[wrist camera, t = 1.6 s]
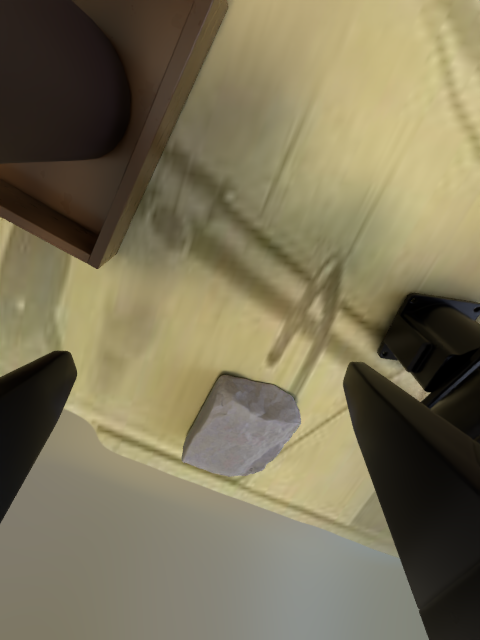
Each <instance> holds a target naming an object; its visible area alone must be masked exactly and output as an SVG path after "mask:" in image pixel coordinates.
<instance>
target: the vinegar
mask: <svg viewBox="0 0 480 640" xmlns="http://www.w3.org/2000/svg"><path fill="white" fill-rule="evenodd" d="M129 117H130V92H129V88H128V84H127V80H126V75H125V71H124V68H123V65H122V63H121V61H120V59H119V57H118V55H117V53H116V51H115V49H114V47H113V45H112V43H111V41H110V40H109V39H108V38H107V37H106V35H105V34H104V33H103V32H102V31H101V29H100V28H99V27H98V26H97V25H96V23H95V22H94V21H93V20H92V19H91V18H90V17H89V16H88V15H87V14H86V13H85V12H84V11H82V10H81V9H80V8H79V7H78V6H77V5H76V4H75V3H74V2H73V1H72V0H0V164H4V163H28V162H53V161H77V160H88V159H96V158H100V157H102V156H103V155H105V154H107V153H109V152H110V151H112V150H113V149H114V148H115V147H116V145H117V144H118V143H119V141H120V140H121V139H122V137H123V136H124V134H125V131H126V127H127V124H128V120H129Z"/></svg>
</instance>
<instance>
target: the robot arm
mask: <svg viewBox="0 0 480 640" xmlns="http://www.w3.org/2000/svg"><path fill="white" fill-rule="evenodd" d="M413 298H415V299H414V300H413V301H411V300H412V299H413ZM479 314H480V303H478V302H472V301H466V300H459V299H452V298H446V297H439V296H432V295H426V294H419V293H411V294H409V295H407V297H406V298H405V300H404V302H403V304H402V306H401V308H400V310H399V312H398V314H397V315H396V317H395V319H394V321H393V323H392V325H391V326H390V328H389V330H388V332H387V334H386V336H385V338H384V340H383V342H382V344H381V346H380V348H379V350H378V352H377V353H378V355H379V356H380V357H381V358H384V359H392V360H399V362H400V363H401V364H402V366H403V367H404V368H405V369H406V371H407V372H410V373H411V374H412V375H413V376H414V378H415V379H416V380H417V381H418V383H419V384H420V385H421V386H422V388H423V389H424V390H425V391H426V392H431V393H430V394H429V395H428V396H427V397H426V398H425V399H424V400H422V401H421V402H419V401H418V400H417V399H415V398H414V397H412V396H411V395H409V394H408V393H407V392H405V391H404V390H402V389H401V388H399V387H398V386H397V385H395V384H394V383H392V382H391V381H390V380H388V379H387V378H385V377H384V376H382V375H381V374H380V373H378V372H377V371H375V370H374V369H372V368H371V367H370V366H368V365H367V364H365V363H363V362H350V363H349V365H348V368H347V371H346V374H345V377H344V380H343V388H344V392H345V396H346V400H347V404H348V409H349V413H350V417H351V421H352V425H353V429H354V432H355V435H356V438H357V441H358V444H359V446H360V449H361V452H362V455H363V457H364V460H365V463H366V466H367V468H368V471H369V474H370V477H371V480H372V482H373V485H374V488H375V491H376V493H377V496H378V499H379V502H380V504H381V507H382V510H383V513H384V516H385V518H386V521H387V524H388V527H389V529H390V532H391V535H392V538H393V540H394V543H395V546H396V549H397V551H398V554H399V557H400V560H401V562H402V565H403V568H404V571H405V574H406V576H407V579H408V582H409V585H410V587H411V590H412V593H413V595H414V598H415V601H416V604H417V607H418V608H419V609H420V610H419V613H420V616H421V618H422V621H423V624H424V627H425V630H426V632H427V635H428V638H429V640H480V324H479V323H478V322H476V321H475V320H476V319H477V317H478V316H479ZM384 352H385V353H384ZM76 377H77V369H76V366H75V363H74V360H73V358H72V355H71V353H70V352H68V351H53V352H51V353H49V354H47V355H45V356H43V357H41V358H39V359H37V360H35V361H33V362H31V363H28V364H26V365H24V366H22V367H20V368H18V369H16V370H14V371H12V372H10V373H8V374H6V375H4V376H2V377H0V523H1V521H2V520H3V518H4V516H5V514H6V512H7V511H8V509H9V507H10V505H11V504H12V502H13V500H14V498H15V496H16V495H17V493H18V491H19V489H20V488H21V486H22V484H23V482H24V480H25V479H26V477H27V475H28V473H29V472H30V470H31V468H32V466H33V464H34V463H35V461H36V459H37V457H38V455H39V454H40V452H41V450H42V448H43V447H44V445H45V443H46V441H47V439H48V438H49V436H50V434H51V432H52V431H53V429H54V427H55V425H56V423H57V421H58V419H59V417H60V415H61V413H62V410H63V408H64V406H65V403H66V401H67V399H68V396H69V394H70V392H71V389H72V387H73V385H74V382H75V380H76Z"/></svg>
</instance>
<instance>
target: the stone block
mask: <svg viewBox="0 0 480 640" xmlns="http://www.w3.org/2000/svg"><path fill="white" fill-rule="evenodd" d="M300 424H301V418H300V412H299V409H298V407H297V404H296V402H295V401H294V399H293V396H291V395H290V394H288V393H286V392H284V391H283V390H281V389H279V388H278V387H276V386H275V385H272V384H265V383H260V382H255V381H251V380H248V379H244V378H238V377H232V376H230V375H222V376H220V378H219V379H218V380H217V381H216V383H215V385H214V387H213V389H212V391H211V392H210V394H209V396H208V398H207V400H206V402H205V403H204V405H203V407H202V409H201V411H200V413H199V414H198V416H197V418H196V420H195V422H194V424H193V426H192V428H191V429H190V431H189V433H188V435H187V436H186V439H185V442H184V446H183V453H182V461H183V462H184V463H185V462H186V463H189V464H190V465H193V466H196V467H198V468H200V469H205V470H207V471H209V472H212V473H217V474H220V475H225V476H238V475H242V476H246V475H249V474H254V473H256V472H259V471H262V470H263V469H264V468H265V466H266V464H268V463H269V462H271V461H272V460H273V459H274V458H275V457H276V456H277V455H278V454H279V453H280V451H281V449H282V448H283V446H284V444H285V443H286V442H287V441H289V439H290V438H291V437H292V435H293V433H295V431H296V430H297V429H298V427H299V425H300Z"/></svg>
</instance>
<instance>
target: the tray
mask: <svg viewBox="0 0 480 640" xmlns="http://www.w3.org/2000/svg"><path fill="white" fill-rule="evenodd" d="M72 1H73V2H74V3H75V4H76V5H77V6H78V7H79V8H80V9H81V10H82V11H84V12H85V13H86V14H87V15H88V16H89V17H90V18H91V19H92V20H93V21H94V22H95V23H96V25H97V26H98V27H99V28H100V29H101V31H102V32H103V33H104V34H105V35H106V37H107V38H108V39H109V40H110V41H111V43H112V45H113V47H114V49H115V51H116V53H117V55H118V57H119V59H120V61H121V63H122V65H123V68H124V71H125V75H126V80H127V84H128V88H129V92H130V117H129V120H128V124H127V127H126V131H125V134H124V136H123V137H122V139H121V140H120V141H119V143H118V144H117V145H116V147H115V148H114V149H113V150H112V151H110V152H109V153H107V154H105V155H103V156H102V157H100V158H96V159H88V160H77V161H53V162H28V163H4V164H0V217H2V218H4V219H6V220H8V221H9V222H11V223H13V224H15V225H17V226H19V227H20V228H22V229H24V230H26V231H28V232H30V233H32V234H33V235H35V236H37V237H39V238H41V239H43V240H45V241H46V242H48V243H50V244H52V245H54V246H56V247H57V248H59V249H61V250H63V251H65V252H67V253H69V254H70V255H72V256H74V257H76V258H78V259H80V260H82V261H83V262H85V263H88V264H89V265H91V266H92V267H94V268H96V269H99V268H100V267H101V266H102V265H103V264H105V263H106V262H107V261H108V260H109V259H111V258H112V257H113V256H114V255H116V254H117V252H118V249H119V247H120V245H121V243H122V241H123V238H124V236H125V234H126V232H127V230H128V227H129V225H130V223H131V221H132V219H133V216H134V214H135V212H136V210H137V207H138V205H139V203H140V201H141V199H142V196H143V194H144V192H145V190H146V188H147V185H148V183H149V181H150V179H151V177H152V174H153V172H154V170H155V168H156V166H157V163H158V161H159V159H160V157H161V155H162V152H163V150H164V148H165V146H166V144H167V141H168V139H169V137H170V135H171V133H172V130H173V128H174V126H175V124H176V122H177V119H178V117H179V115H180V113H181V111H182V108H183V106H184V104H185V102H186V100H187V97H188V95H189V93H190V91H191V89H192V86H193V84H194V82H195V80H196V77H197V75H198V73H199V71H200V69H201V66H202V64H203V62H204V60H205V58H206V55H207V53H208V51H209V49H210V47H211V44H212V42H213V40H214V38H215V36H216V33H217V31H218V29H219V27H220V25H221V22H222V20H223V18H224V16H225V14H226V11H227V9H228V3H227V0H72Z"/></svg>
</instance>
